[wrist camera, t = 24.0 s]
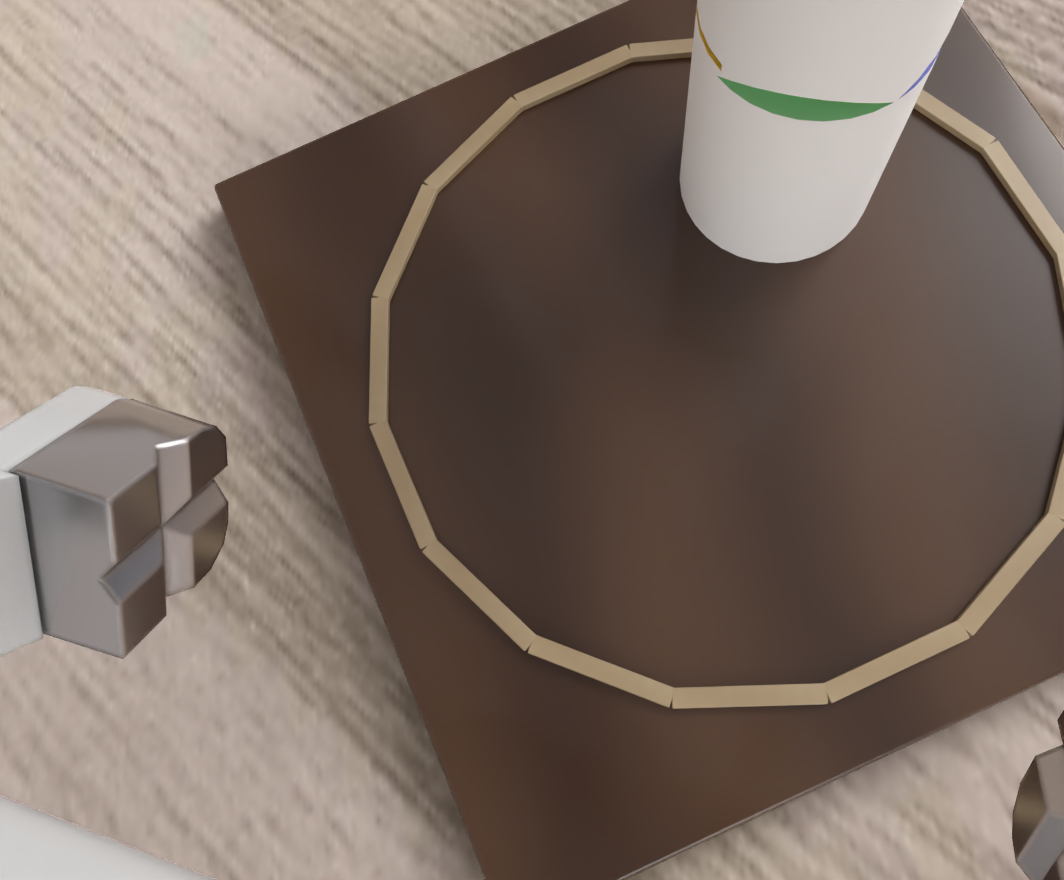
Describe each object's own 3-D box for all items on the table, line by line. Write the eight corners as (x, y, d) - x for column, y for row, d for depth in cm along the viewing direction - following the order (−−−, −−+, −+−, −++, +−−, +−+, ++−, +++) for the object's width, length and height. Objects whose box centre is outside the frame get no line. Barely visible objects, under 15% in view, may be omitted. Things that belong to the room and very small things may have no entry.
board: (512, 925, 19) (505, 938, 18) (228, 205, 24) (208, 179, 23) (1313, 547, 20) (1356, 536, 18) (868, -81, 25) (879, -119, 24)
